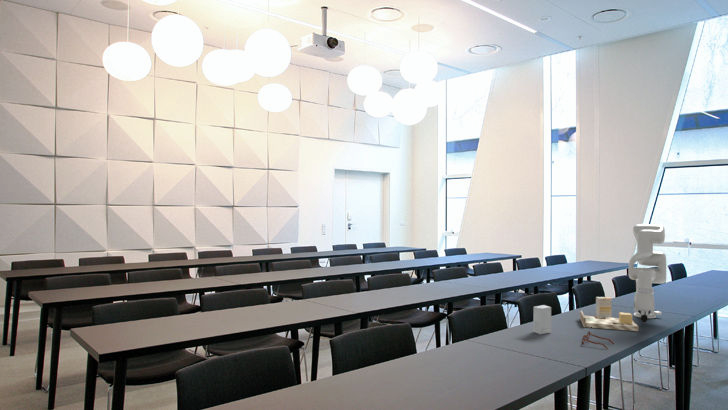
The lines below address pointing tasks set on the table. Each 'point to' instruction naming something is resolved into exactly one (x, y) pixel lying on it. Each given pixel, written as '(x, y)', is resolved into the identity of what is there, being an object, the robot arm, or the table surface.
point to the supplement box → (603, 307)
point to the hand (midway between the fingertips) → (644, 321)
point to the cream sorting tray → (606, 323)
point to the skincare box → (542, 319)
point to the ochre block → (625, 317)
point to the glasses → (594, 342)
